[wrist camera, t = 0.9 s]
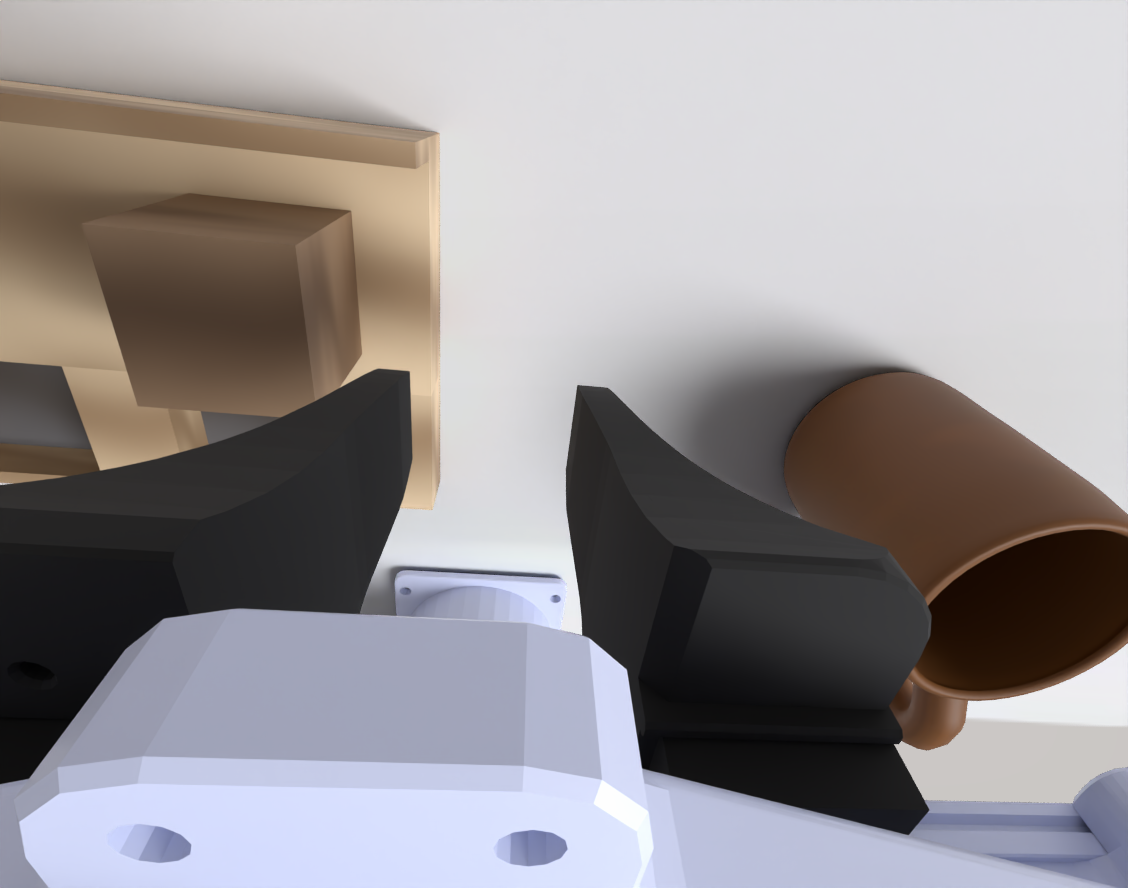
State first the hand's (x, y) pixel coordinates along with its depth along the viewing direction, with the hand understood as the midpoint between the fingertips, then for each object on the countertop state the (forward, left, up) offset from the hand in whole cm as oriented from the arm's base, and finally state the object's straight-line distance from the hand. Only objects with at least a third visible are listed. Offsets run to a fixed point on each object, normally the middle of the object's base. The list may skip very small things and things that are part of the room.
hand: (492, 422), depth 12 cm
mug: (-8, -15, -10) cm, 20 cm away
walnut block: (0, +7, -8) cm, 11 cm away
